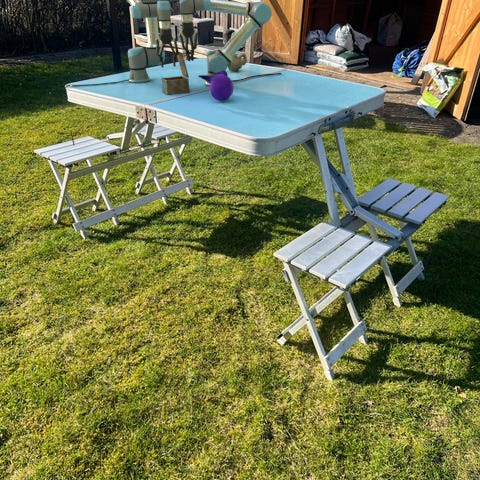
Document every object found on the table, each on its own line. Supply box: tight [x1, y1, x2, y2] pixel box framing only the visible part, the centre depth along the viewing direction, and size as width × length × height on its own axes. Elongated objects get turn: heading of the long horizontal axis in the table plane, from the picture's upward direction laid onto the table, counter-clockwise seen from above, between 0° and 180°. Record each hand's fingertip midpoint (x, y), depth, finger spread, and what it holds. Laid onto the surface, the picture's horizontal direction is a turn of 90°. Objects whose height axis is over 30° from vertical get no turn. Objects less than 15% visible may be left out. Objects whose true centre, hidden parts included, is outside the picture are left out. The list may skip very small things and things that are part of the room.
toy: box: [198, 70, 235, 102], centre depth 281 cm, size 16×18×27 cm
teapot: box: [227, 52, 248, 73], centre depth 364 cm, size 21×12×15 cm, turn 120°
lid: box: [176, 50, 194, 79], centre depth 299 cm, size 16×11×8 cm
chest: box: [161, 75, 190, 96], centre depth 303 cm, size 15×11×9 cm
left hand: (168, 66), depth 295 cm, fingers open, 7 cm apart
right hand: (190, 60), depth 300 cm, fingers closed on lid, 2 cm apart
